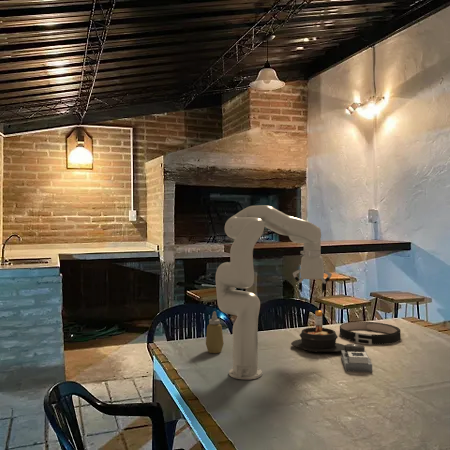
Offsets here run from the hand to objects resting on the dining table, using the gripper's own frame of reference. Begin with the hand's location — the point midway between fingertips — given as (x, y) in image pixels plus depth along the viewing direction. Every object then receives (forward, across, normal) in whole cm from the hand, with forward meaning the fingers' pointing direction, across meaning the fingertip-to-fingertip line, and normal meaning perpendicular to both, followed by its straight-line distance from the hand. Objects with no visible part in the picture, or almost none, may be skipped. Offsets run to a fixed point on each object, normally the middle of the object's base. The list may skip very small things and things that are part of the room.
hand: (312, 291), depth 207 cm
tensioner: (+26, +17, -18) cm, 36 cm away
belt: (+26, +29, +28) cm, 48 cm away
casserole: (+27, +3, +2) cm, 27 cm away
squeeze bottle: (+27, -43, -8) cm, 51 cm away
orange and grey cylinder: (+18, +3, +2) cm, 18 cm away
